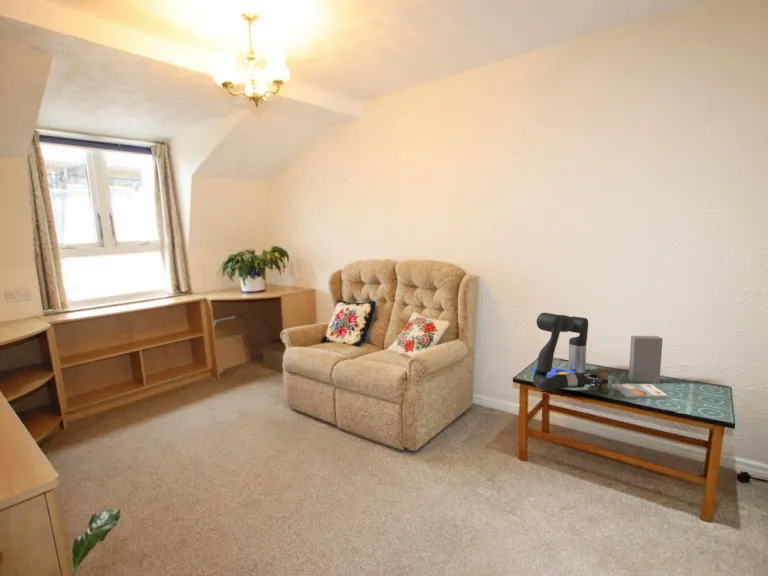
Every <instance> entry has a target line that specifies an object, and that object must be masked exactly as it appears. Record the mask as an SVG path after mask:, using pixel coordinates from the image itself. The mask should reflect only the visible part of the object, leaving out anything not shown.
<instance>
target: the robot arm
mask: <svg viewBox="0 0 768 576" xmlns="http://www.w3.org/2000/svg"><path fill="white" fill-rule="evenodd" d="M536 325H537V328H538V329H539V330H541V331H545V332H549V333H551V335H550V338H549V340H548V341H547V343H546V344H544V346H543V347H542V348H541V350H540V351H539V353H538V357H537V364H536V367H537V368H536V370H535V372H533V378H532V383H533V385H535V387H537V388H538V389H539V390H540V391H542V392H550V391H554V390H558V389H577V388H579V389H580V388H581V389H582V388H585V386H586V385H588V386H590V388H597V387H602V384H608V385H609V379H608V380H597V374H598V373H588V372H587V371H586V366H587V364H586V363H587V342H588V332H589V331H588V330H589V320H588V319H587V318H586V317H581V316H569V315H564V314H555V313H551V312H550V313H549V312H541V313H540V314H538V316H537V318H536ZM568 332H571V333H576V334H579V335H578V336H575V337H574V336H573V337H570V338H569V342H568V364H567V365H568V366H567V370H572V371H574V372H576V373H568V374H558V375H554V376H553V377H552V378H549V377H546V376H547V372H550V371H551V369H552V368H553V362H554V361H553V360H554V356H555V351H556V347H557V345H558V344H557V343H558V341H559V338H560V335H561V333H568Z"/></svg>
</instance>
